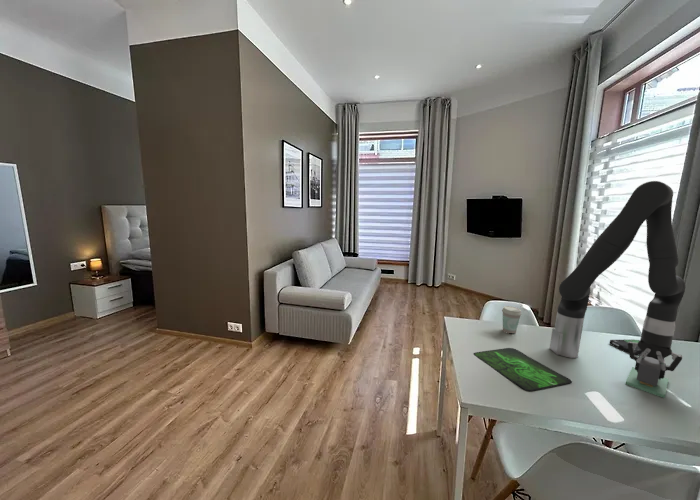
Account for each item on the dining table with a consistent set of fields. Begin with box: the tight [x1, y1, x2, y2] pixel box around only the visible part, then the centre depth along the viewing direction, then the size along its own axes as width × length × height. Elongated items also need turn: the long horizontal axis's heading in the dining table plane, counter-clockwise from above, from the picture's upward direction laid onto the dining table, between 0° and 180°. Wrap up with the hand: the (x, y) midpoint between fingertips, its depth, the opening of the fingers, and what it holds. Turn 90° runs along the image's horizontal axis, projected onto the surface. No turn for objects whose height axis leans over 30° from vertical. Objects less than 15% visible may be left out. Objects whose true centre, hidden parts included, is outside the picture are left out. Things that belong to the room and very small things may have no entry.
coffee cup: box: [501, 305, 523, 334], centre depth 145 cm, size 8×8×12 cm
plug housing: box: [636, 356, 661, 387], centre depth 104 cm, size 5×12×6 cm, turn 130°
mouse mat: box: [473, 347, 573, 392], centre depth 113 cm, size 27×22×1 cm
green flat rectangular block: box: [625, 366, 669, 399], centre depth 105 cm, size 10×16×2 cm, turn 130°
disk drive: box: [608, 339, 642, 356], centre depth 131 cm, size 10×3×15 cm
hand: (648, 375), depth 105 cm, fingers closed on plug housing, 4 cm apart
